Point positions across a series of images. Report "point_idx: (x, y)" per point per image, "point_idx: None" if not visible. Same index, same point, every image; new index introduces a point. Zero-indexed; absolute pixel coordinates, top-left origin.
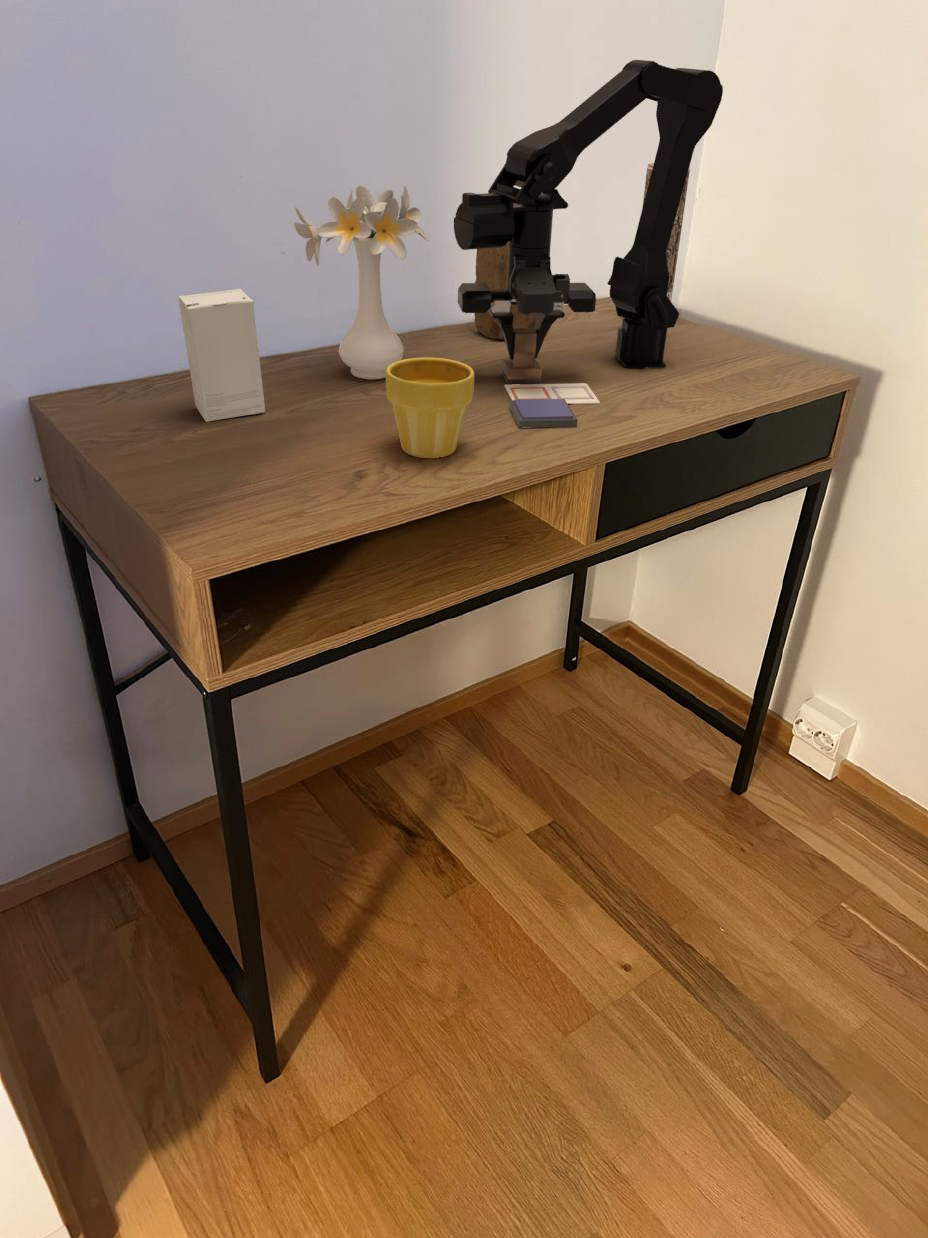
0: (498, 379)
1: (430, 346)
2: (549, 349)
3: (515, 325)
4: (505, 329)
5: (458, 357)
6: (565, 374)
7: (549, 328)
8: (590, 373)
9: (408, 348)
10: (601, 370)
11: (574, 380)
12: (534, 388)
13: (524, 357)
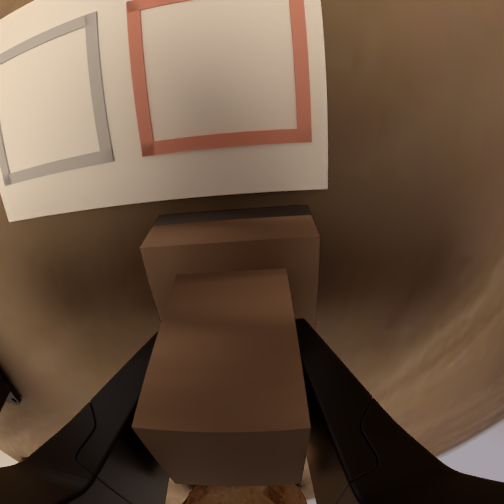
0: (333, 267)
1: None
2: None
3: (231, 499)
4: (405, 446)
5: (388, 409)
6: (83, 313)
7: (43, 444)
8: (25, 316)
9: (455, 422)
10: (12, 333)
11: (48, 260)
12: (189, 137)
13: (229, 303)
